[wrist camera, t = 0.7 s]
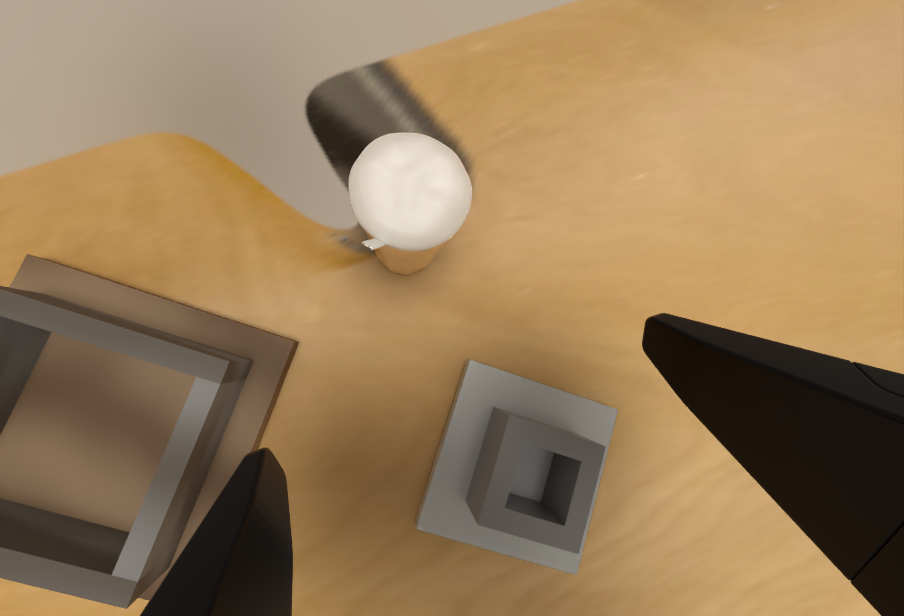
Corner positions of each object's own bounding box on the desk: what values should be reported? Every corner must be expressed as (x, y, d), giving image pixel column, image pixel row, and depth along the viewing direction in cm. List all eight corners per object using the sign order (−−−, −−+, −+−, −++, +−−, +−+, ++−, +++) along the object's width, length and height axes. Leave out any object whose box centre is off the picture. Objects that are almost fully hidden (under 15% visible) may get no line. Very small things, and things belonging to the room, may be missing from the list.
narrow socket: (568, 565, 22) (606, 611, 18) (415, 521, 21) (420, 559, 17) (608, 407, 23) (652, 418, 19) (466, 359, 22) (482, 360, 19)
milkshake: (341, 274, 22) (300, 209, 12) (389, 195, 23) (386, 75, 13) (413, 313, 22) (430, 282, 12) (457, 234, 23) (505, 147, 13)
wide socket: (198, 596, 19) (149, 659, 15) (-92, 523, 18) (-229, 571, 14) (298, 342, 21) (277, 339, 17) (45, 258, 20) (-41, 235, 16)
